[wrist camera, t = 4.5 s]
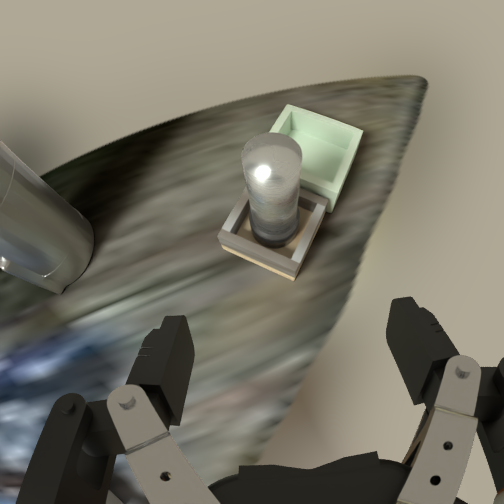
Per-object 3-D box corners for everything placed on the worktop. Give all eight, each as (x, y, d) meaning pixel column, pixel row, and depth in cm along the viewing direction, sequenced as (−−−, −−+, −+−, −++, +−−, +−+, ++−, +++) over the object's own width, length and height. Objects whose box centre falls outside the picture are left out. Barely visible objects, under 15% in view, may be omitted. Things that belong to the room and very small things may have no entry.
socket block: (293, 281, 28) (295, 271, 25) (223, 248, 30) (217, 236, 27) (324, 215, 30) (328, 199, 27) (257, 188, 32) (255, 170, 29)
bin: (331, 213, 30) (337, 193, 26) (254, 182, 32) (251, 160, 28) (356, 153, 32) (363, 130, 29) (287, 127, 34) (287, 104, 31)
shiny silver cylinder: (286, 256, 28) (290, 195, 17) (242, 237, 29) (223, 169, 18) (305, 216, 29) (317, 142, 19) (263, 199, 30) (256, 121, 20)
